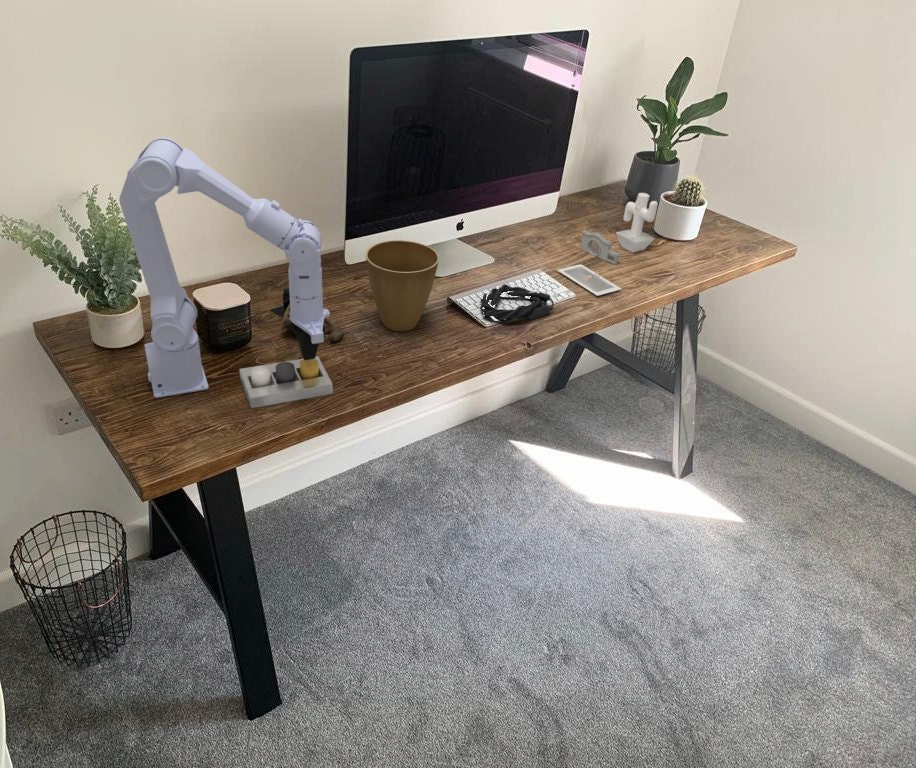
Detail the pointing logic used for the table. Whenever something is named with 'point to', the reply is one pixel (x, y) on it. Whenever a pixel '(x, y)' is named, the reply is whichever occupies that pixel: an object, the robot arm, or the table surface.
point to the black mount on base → (282, 308)
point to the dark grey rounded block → (285, 372)
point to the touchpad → (589, 279)
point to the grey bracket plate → (603, 247)
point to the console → (285, 386)
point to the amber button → (309, 369)
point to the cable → (520, 312)
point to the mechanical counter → (334, 333)
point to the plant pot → (401, 281)
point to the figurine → (637, 224)
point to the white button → (260, 376)
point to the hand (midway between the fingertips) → (308, 357)
